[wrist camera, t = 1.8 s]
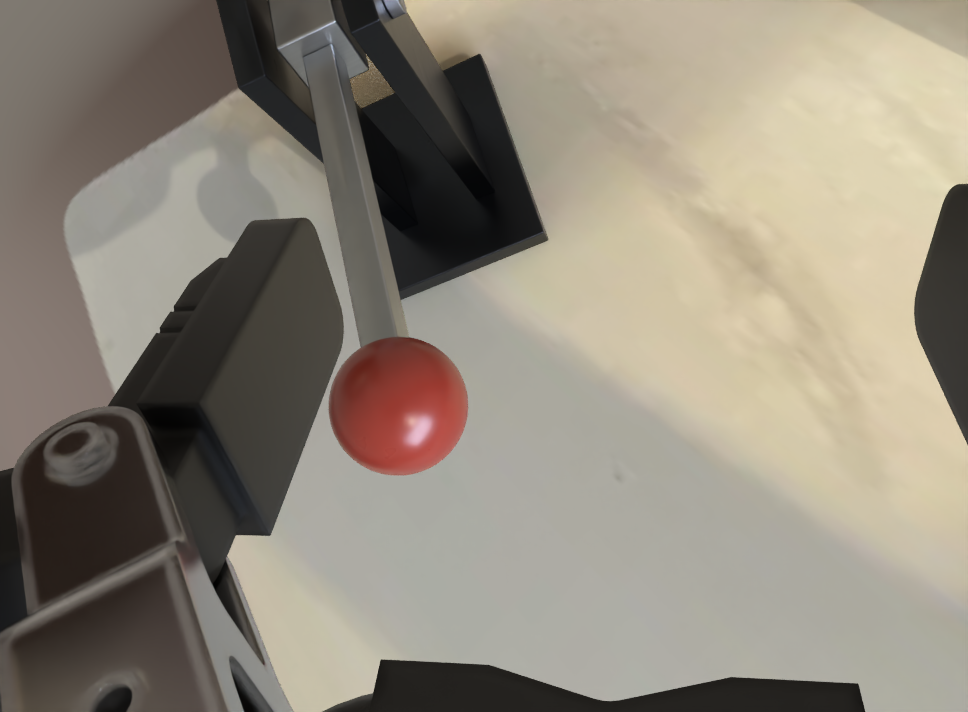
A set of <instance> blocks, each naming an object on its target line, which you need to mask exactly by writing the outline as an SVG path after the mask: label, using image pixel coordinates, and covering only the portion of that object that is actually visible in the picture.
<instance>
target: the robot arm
mask: <svg viewBox="0 0 968 712" xmlns="http://www.w3.org/2000/svg"><path fill="white" fill-rule="evenodd" d="M914 316H915V326H916V331H917V335H918V338H919V340H920V343H921V345H922V347H923V349H924V351H925V354H926V356H927V358H928V360H929V362H930V364H931V367H932V369H933V371H934V373H935V375H936V377H937V380H938V382H939V384H940V386H941V388H942V390H943V392H944V395H945V397H946V399H947V401H948V403H949V405H950V408H951V410H952V412H953V414H954V416H955V418H956V421H957V423H958V425H959V427H960V429H961V431H962V434H963V436H964V438H965V440H966V442H967V444H968V184H958V185H955V186H954V187H952V188H951V189H950V191H949V192H948V194H947V195H946V197H945V200H944V202H943V205H942V208H941V211H940V215H939V218H938V221H937V225H936V228H935V231H934V235H933V238H932V241H931V244H930V248H929V251H928V254H927V258H926V261H925V264H924V268H923V271H922V274H921V277H920V281H919V284H918V287H917V291H916V297H915V306H914ZM343 333H344V325H343V315H342V309H341V306H340V302H339V299H338V296H337V293H336V290H335V287H334V284H333V281H332V278H331V274H330V271H329V268H328V265H327V262H326V259H325V256H324V253H323V250H322V247H321V243H320V240H319V237H318V234H317V232H316V229H315V227H314V225H313V224H312V222H311V221H310V220H309V219H307V218H291V219H272V220H255V221H252V222H250V223H249V224H248V226H247V227H246V229H245V230H244V232H243V233H242V235H241V237H240V238H239V240H238V241H237V243H236V245H235V246H234V248H233V249H232V251H231V253H230V254H229V256H228V257H227V258H219V259H218V260H216V261H215V262H214V263H213V264H211V265H210V266H209V267H208V268H206V269H205V270H204V271H203V272H201V273H200V274H199V275H198V276H196V277H195V278H194V279H193V280H191V281H190V283H189V284H188V286H187V287H186V289H185V290H184V292H183V293H182V295H181V296H180V298H179V299H178V301H177V302H176V304H175V305H174V312H170V313H169V314H168V316H167V317H166V319H165V321H164V322H163V324H162V325H161V327H160V333H156V334H155V336H154V337H153V339H152V340H151V342H150V343H149V345H148V346H147V348H146V349H145V351H144V352H143V354H142V355H141V357H140V358H139V360H138V361H137V363H136V364H135V366H134V367H133V369H132V370H131V372H130V373H129V375H128V376H127V378H126V379H125V381H124V382H123V384H122V385H121V387H120V388H119V390H118V391H117V393H116V394H115V396H114V397H113V399H112V400H111V402H110V404H109V405H108V406H107V407H99V408H93V409H90V410H86V411H82V412H80V413H77V414H74V415H72V416H70V417H68V418H66V419H64V420H62V421H60V422H58V423H56V424H55V425H53V426H51V427H50V428H49V429H47V430H46V431H44V432H43V433H42V434H41V435H39V436H38V437H37V438H36V439H35V440H34V441H33V442H32V443H31V444H30V445H29V446H28V447H27V448H26V449H25V450H24V452H23V453H22V455H21V456H20V458H19V459H18V461H17V463H16V465H15V467H14V468H11V469H8V470H3V471H0V712H294V711H293V709H292V707H291V706H290V704H289V702H288V700H287V698H286V696H285V694H284V692H283V690H282V688H281V685H280V683H279V681H278V679H277V676H276V674H275V671H274V669H273V666H272V664H271V661H270V658H269V656H268V653H267V651H266V648H265V646H264V643H263V641H262V638H261V636H260V633H259V630H258V628H257V625H256V623H255V620H254V618H253V615H252V613H251V610H250V607H249V605H248V602H247V600H246V597H245V595H244V592H243V590H242V587H241V585H240V582H239V579H238V577H237V574H236V572H235V569H234V567H233V565H232V563H231V561H230V560H229V558H228V557H227V555H228V552H229V550H230V548H231V545H232V543H233V540H234V538H235V536H236V535H261V536H270V535H271V533H272V530H273V527H274V525H275V522H276V519H277V517H278V514H279V512H280V509H281V506H282V504H283V501H284V498H285V496H286V493H287V491H288V488H289V485H290V483H291V480H292V477H293V475H294V472H295V469H296V467H297V464H298V462H299V459H300V456H301V454H302V451H303V448H304V446H305V443H306V441H307V438H308V435H309V433H310V430H311V427H312V425H313V422H314V419H315V417H316V414H317V412H318V409H319V406H320V404H321V401H322V398H323V396H324V393H325V390H326V388H327V385H328V383H329V380H330V377H331V375H332V372H333V369H334V367H335V364H336V362H337V359H338V356H339V354H340V351H341V348H342V343H343ZM323 712H865V709H864V705H863V701H862V697H861V693H860V689H859V685H858V684H854V683H834V682H815V681H795V680H775V679H755V678H736V677H730V678H725V679H721V680H716V681H711V682H706V683H701V684H697V685H692V686H687V687H682V688H677V689H673V690H668V691H663V692H658V693H653V694H648V695H644V696H639V697H634V698H629V699H624V700H619V701H601V700H597V699H593V698H590V697H586V696H583V695H580V694H577V693H574V692H571V691H568V690H565V689H562V688H559V687H556V686H552V685H549V684H546V683H543V682H540V681H537V680H534V679H531V678H528V677H525V676H521V675H518V674H515V673H512V672H509V671H506V670H503V669H500V668H497V667H494V666H490V665H479V664H459V663H440V662H420V661H400V660H381V661H380V666H379V670H378V674H377V679H376V683H375V688H374V692H373V694H368V695H364V696H360V697H357V698H355V699H352V700H349V701H346V702H343V703H340V704H338V705H335V706H333V707H331V708H329V709H327V710H325V711H323Z"/></svg>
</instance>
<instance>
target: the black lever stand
mask: <svg viewBox="0 0 968 712" xmlns="http://www.w3.org/2000/svg"><path fill="white" fill-rule="evenodd" d="M216 1H217V5H218V9H219V13H220V17H221V21H222V25H223V29H224V33H225V36H226V41H227V44H228V49H229V52H230V57H231V60H232V64H233V68H234V72H235V76H236V80H237V84H238V88H239V89H240V90H241V91H242V92H243V93H245V94H246V95H247V96H248V97H249V98H250V99H251V100H252V101H254V102H255V103H256V104H257V105H258V106H259V107H260V108H261V109H263V110H264V111H265V112H266V113H267V114H268V115H269V116H270V117H272V118H273V119H274V120H275V121H276V122H277V123H278V124H280V125H281V126H282V127H283V128H284V129H285V130H286V131H287V132H289V133H290V134H291V135H292V136H293V137H294V138H295V139H296V140H298V141H299V142H300V143H301V144H302V145H303V146H304V147H305V148H307V149H308V150H309V151H310V152H311V153H312V154H313V155H314V156H316V157H317V158H318V159H319V160H320V161H321V162H322V163H323V164H324V161H323V156H322V151H321V146H320V141H319V136H318V131H317V126H316V121H315V116H314V111H313V106H312V101H311V96H310V91H309V89H308V88H307V86H306V85H305V84H304V83H303V81H302V80H301V79H300V78H299V77H298V75H297V74H296V73H295V72H294V70H293V69H292V68H291V67H290V65H289V64H288V63H287V62H286V60H285V59H284V58H283V57H282V55H281V54H280V53H279V52H278V51H277V49H276V44H275V38H274V33H273V27H272V22H271V16H270V11H269V5H268V1H267V0H216ZM341 4H342V7H343V10H344V13H345V17H346V20H347V23H348V26H349V30H350V33H351V34H352V36H353V37H354V38H355V40H356V41H357V42H358V44H359V45H360V46H361V48H362V49H363V50H364V52H365V53H366V54H367V56H368V57H369V58H370V60H371V61H372V62H373V64H374V65H375V66H376V68H377V69H378V70H379V72H380V73H381V74H382V76H383V77H384V78H385V80H386V81H387V82H388V83H389V85H390V86H391V87H392V89H393V90H394V91H395V93H394V94H392V95H390V96H388V97H385V98H383V99H381V100H379V101H377V102H375V103H372V104H370V105H368V106H366V107H364V108H362V109H361V108H360V107H359V106H358V105H357V103H356V102H355V106H356V110H357V114H358V119H359V123H360V127H361V132H362V136H363V140H364V145H365V149H366V153H367V157H368V162H369V166H370V170H371V175H372V179H373V183H374V188H375V192H376V196H377V201H378V205H379V209H380V214H381V218H382V222H383V227H384V231H385V235H386V239H387V244H388V248H389V252H390V257H391V261H392V265H393V270H394V274H395V278H396V283H397V287H398V291H399V296H400V300H402V299H404V298H407V297H409V296H412V295H414V294H416V293H419V292H421V291H424V290H426V289H429V288H431V287H434V286H436V285H439V284H441V283H444V282H446V281H449V280H451V279H454V278H456V277H459V276H461V275H464V274H466V273H468V272H471V271H473V270H476V269H478V268H481V267H483V266H486V265H488V264H491V263H493V262H496V261H498V260H501V259H503V258H506V257H508V256H511V255H513V254H516V253H518V252H520V251H523V250H525V249H528V248H530V247H533V246H535V245H538V244H540V243H543V242H545V241H547V240H548V237H547V234H546V231H545V228H544V225H543V223H542V220H541V217H540V214H539V211H538V209H537V206H536V203H535V200H534V197H533V195H532V192H531V189H530V186H529V183H528V181H527V178H526V175H525V172H524V169H523V167H522V164H521V161H520V158H519V155H518V153H517V150H516V147H515V144H514V141H513V139H512V136H511V133H510V130H509V127H508V125H507V122H506V119H505V116H504V113H503V111H502V108H501V105H500V102H499V99H498V97H497V94H496V91H495V88H494V85H493V83H492V80H491V77H490V74H489V71H488V69H487V66H486V64H485V62H484V60H483V58H482V56H481V55H480V54H478V55H476V56H474V57H472V58H469V59H467V60H465V61H463V62H461V63H459V64H456V65H454V66H452V67H450V68H448V69H446V70H444V71H442V69H441V67H440V66H439V64H438V62H437V61H436V59H435V58H434V56H433V54H432V53H431V51H430V49H429V48H428V46H427V44H426V43H425V41H424V39H423V38H422V36H421V34H420V33H419V31H418V30H417V28H416V26H415V25H414V23H413V21H412V20H411V18H410V16H409V15H408V13H407V11H406V6H405V2H404V0H341Z"/></svg>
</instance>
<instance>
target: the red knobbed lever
mask: <svg viewBox="0 0 968 712" xmlns="http://www.w3.org/2000/svg"><path fill="white" fill-rule="evenodd" d="M268 5H269V11H270V16H271V22H272V27H273V33H274V38H275V44H276V49H277V51H278V52H279V53H280V54H281V55H282V57H283V58H284V59H285V60H286V62H287V63H288V64H289V65H290V67H291V68H292V69H293V70H294V72H295V73H296V74H297V75H298V77H299V78H300V79H301V80H302V81H303V83H304V84H305V85H306V86H307V88H308V89H309V91H310V96H311V101H312V106H313V111H314V116H315V121H316V126H317V131H318V136H319V141H320V146H321V151H322V156H323V161H324V166H325V171H326V176H327V181H328V186H329V191H330V196H331V201H332V206H333V211H334V216H335V221H336V226H337V231H338V236H339V241H340V246H341V251H342V256H343V261H344V266H345V271H346V276H347V281H348V286H349V291H350V296H351V301H352V306H353V311H354V316H355V321H356V326H357V331H358V336H359V341H360V346H361V348H360V349H359V350H357V351H356V352H355V353H353V354H352V355H351V356H350V357H349V358H348V359H347V360H346V361H345V363H344V364H343V365H342V366H341V368H340V369H339V371H338V373H337V375H336V377H335V379H334V381H333V384H332V387H331V391H330V396H329V417H330V422H331V426H332V429H333V432H334V434H335V436H336V438H337V440H338V442H339V444H340V445H341V447H342V448H343V449H344V451H345V452H346V453H347V454H348V455H349V456H350V457H351V458H352V459H353V460H355V461H356V462H357V463H359V464H360V465H362V466H364V467H365V468H367V469H369V470H372V471H375V472H378V473H381V474H386V475H410V474H414V473H418V472H421V471H424V470H426V469H428V468H431V467H432V466H434V465H436V464H437V463H439V462H440V461H441V460H443V459H444V458H445V457H446V456H447V455H448V454H449V453H450V452H451V451H452V449H453V448H454V447H455V445H456V444H457V442H458V441H459V439H460V437H461V435H462V433H463V430H464V427H465V424H466V420H467V415H468V396H467V391H466V387H465V384H464V381H463V379H462V376H461V374H460V372H459V370H458V369H457V367H456V366H455V365H454V363H453V362H452V361H451V360H450V359H449V358H448V357H447V356H446V355H445V354H444V353H443V352H442V351H440V350H439V349H438V348H436V347H434V346H433V345H431V344H429V343H426V342H424V341H421V340H418V339H414V338H410V337H409V334H408V330H407V326H406V321H405V317H404V313H403V309H402V304H401V300H400V296H399V291H398V287H397V283H396V278H395V274H394V270H393V265H392V261H391V257H390V252H389V248H388V244H387V239H386V235H385V231H384V227H383V222H382V218H381V214H380V209H379V205H378V201H377V196H376V192H375V188H374V183H373V179H372V175H371V170H370V166H369V162H368V157H367V153H366V149H365V145H364V140H363V136H362V132H361V127H360V123H359V119H358V114H357V110H356V106H355V101H354V97H353V93H352V88H351V84H350V80H349V79H351V78H353V77H355V76H357V75H359V74H361V73H364V72H366V71H368V70H369V66H368V62H367V58H366V54H365V52H364V50H363V49H362V48H361V46H360V45H359V44H358V42H357V41H356V40H355V38H354V37H353V36H352V34H351V33H350V30H349V26H348V23H347V20H346V17H345V13H344V10H343V7H342V4H341V0H268Z"/></svg>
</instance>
